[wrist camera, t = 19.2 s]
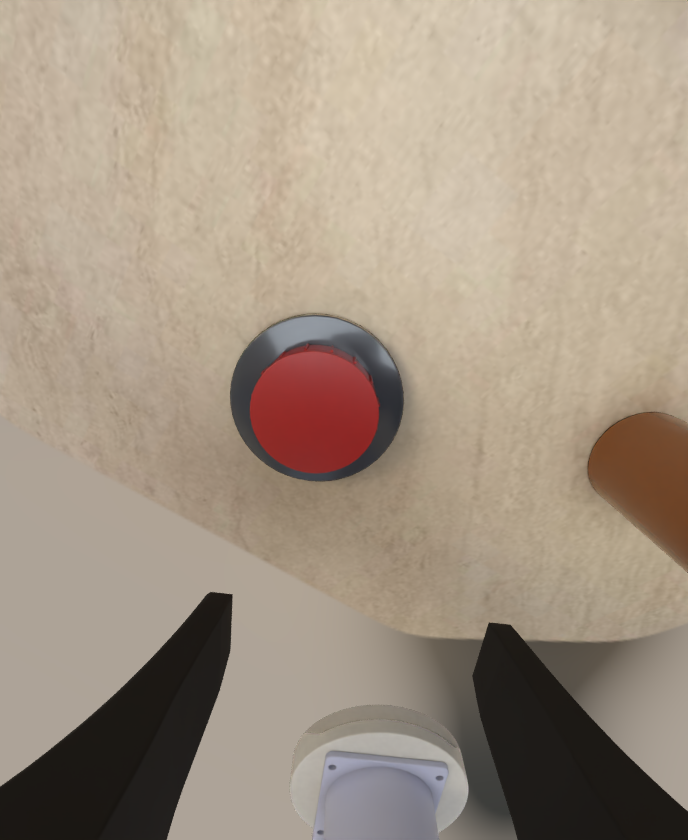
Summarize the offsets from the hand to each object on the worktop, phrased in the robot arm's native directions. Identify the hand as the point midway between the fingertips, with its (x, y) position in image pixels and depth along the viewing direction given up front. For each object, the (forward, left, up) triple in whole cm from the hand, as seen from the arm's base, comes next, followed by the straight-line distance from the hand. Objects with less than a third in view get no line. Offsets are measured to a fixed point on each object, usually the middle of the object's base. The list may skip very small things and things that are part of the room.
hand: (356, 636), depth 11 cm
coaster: (+4, +2, -10) cm, 11 cm away
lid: (+4, +2, -8) cm, 9 cm away
